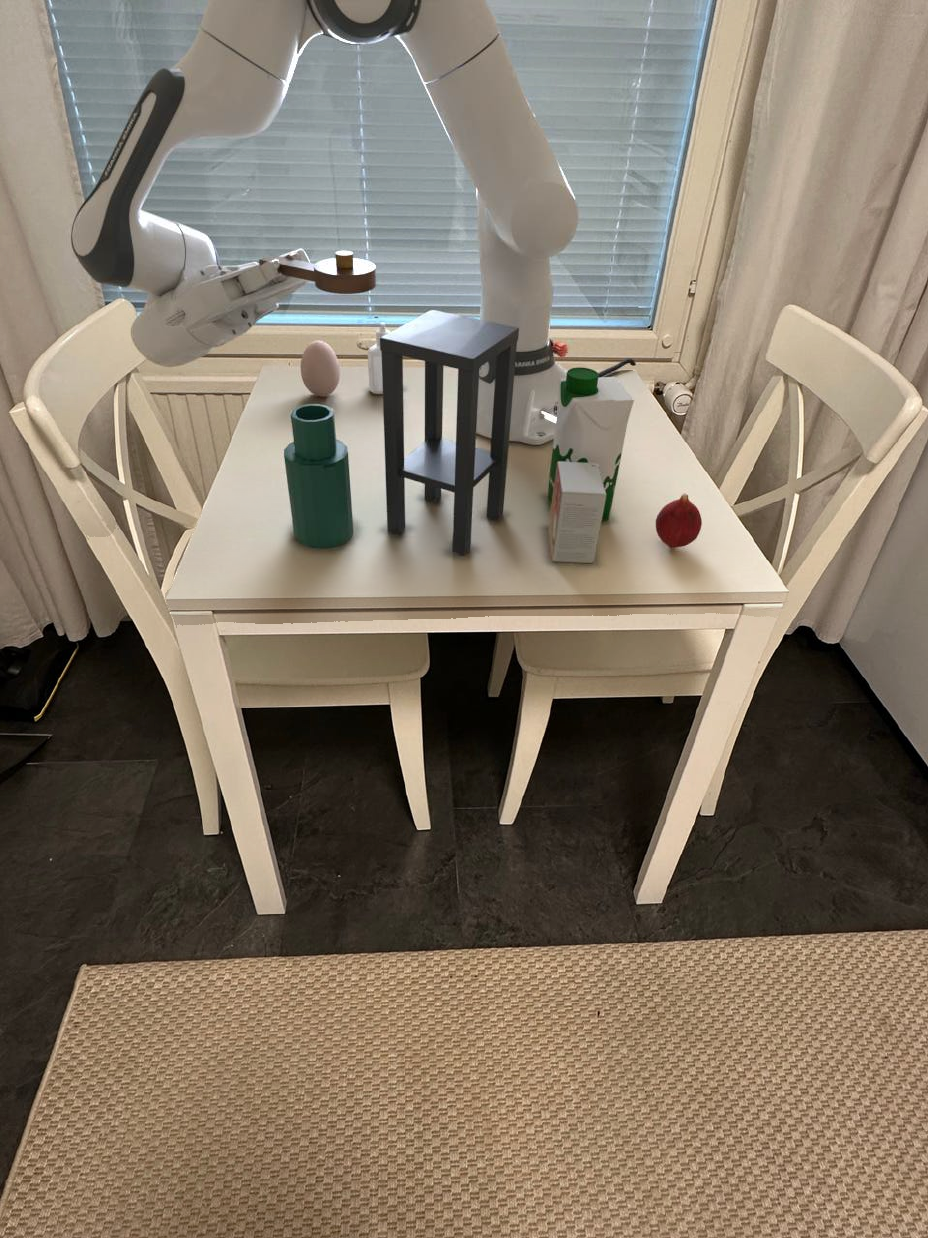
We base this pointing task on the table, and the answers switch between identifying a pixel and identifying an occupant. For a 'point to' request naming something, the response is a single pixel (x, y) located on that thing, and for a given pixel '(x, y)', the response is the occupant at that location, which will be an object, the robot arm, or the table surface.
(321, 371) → the egg
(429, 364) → the stand
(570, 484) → the small box
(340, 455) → the bottle
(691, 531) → the onion
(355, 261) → the lid
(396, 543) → the table surface
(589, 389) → the milk carton
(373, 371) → the white tall narrow container
